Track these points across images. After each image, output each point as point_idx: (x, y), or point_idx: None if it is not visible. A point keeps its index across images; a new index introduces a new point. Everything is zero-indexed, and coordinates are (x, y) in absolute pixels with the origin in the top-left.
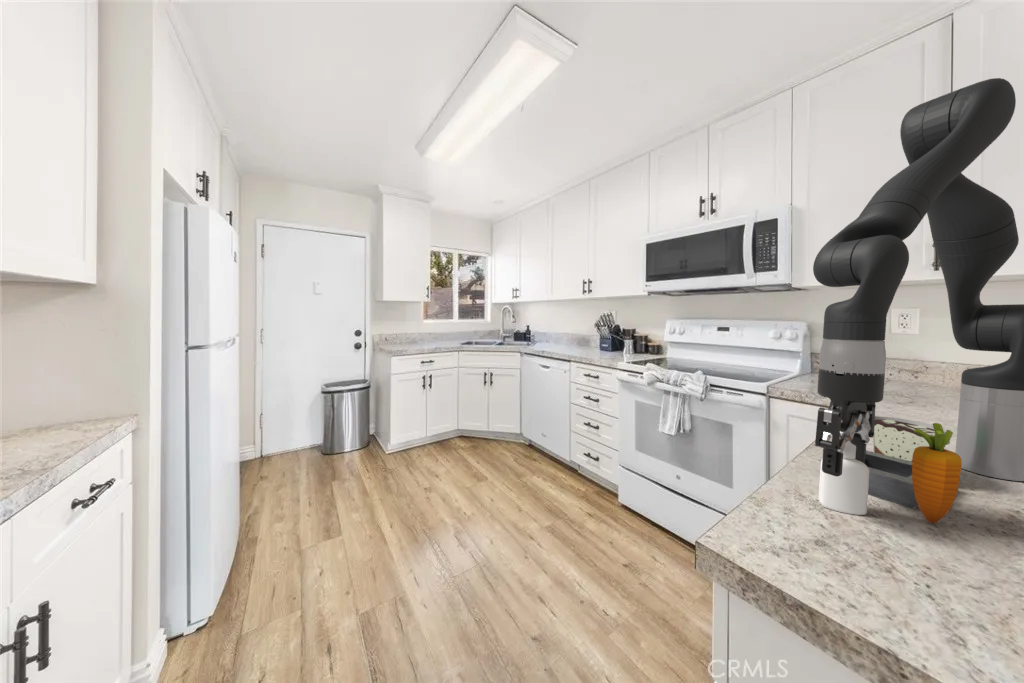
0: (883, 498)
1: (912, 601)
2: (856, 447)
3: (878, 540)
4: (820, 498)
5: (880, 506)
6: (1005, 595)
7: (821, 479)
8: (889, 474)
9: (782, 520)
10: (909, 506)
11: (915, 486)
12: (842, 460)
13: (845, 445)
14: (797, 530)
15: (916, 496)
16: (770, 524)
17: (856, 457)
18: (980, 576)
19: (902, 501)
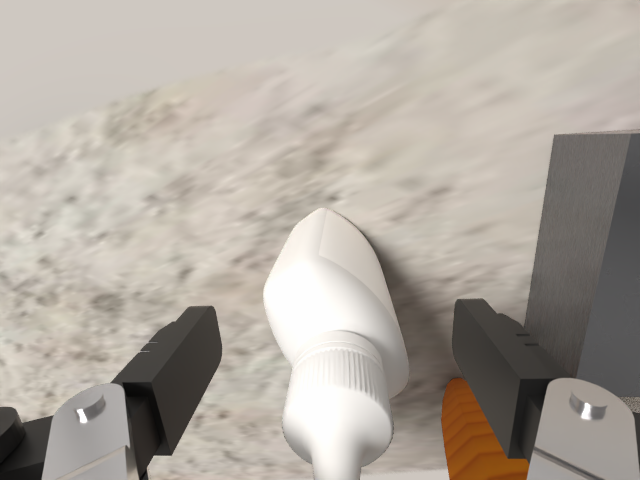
0: (531, 286)
1: None
2: (496, 394)
3: (243, 352)
4: (297, 225)
5: (459, 297)
6: (249, 476)
7: (289, 245)
8: (627, 330)
9: (109, 215)
10: None
11: (467, 441)
12: (189, 415)
13: (291, 445)
14: (103, 257)
15: (459, 413)
16: (59, 212)
17: (468, 353)
18: (277, 455)
19: (530, 328)
